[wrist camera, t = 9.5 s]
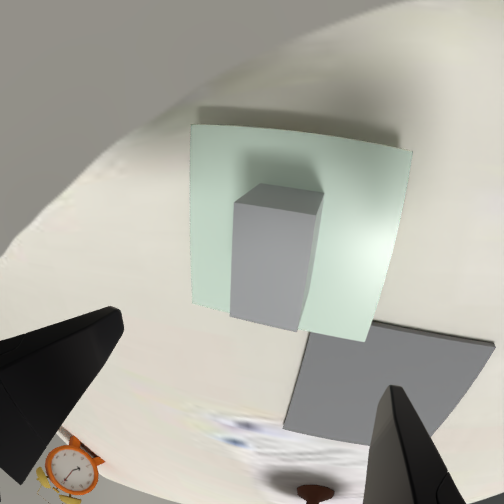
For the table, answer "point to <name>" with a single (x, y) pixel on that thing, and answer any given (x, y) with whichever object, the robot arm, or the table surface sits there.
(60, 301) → the table surface
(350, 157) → the cover
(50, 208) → the table surface
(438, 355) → the mat
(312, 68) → the table surface
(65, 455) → the alarm clock
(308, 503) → the ice cream bowl
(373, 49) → the table surface
